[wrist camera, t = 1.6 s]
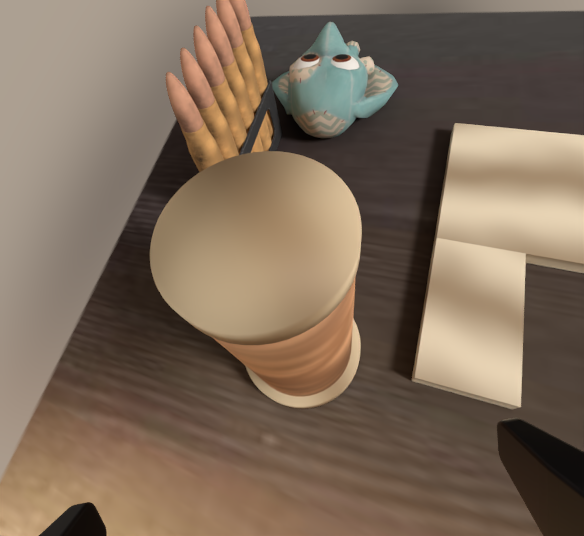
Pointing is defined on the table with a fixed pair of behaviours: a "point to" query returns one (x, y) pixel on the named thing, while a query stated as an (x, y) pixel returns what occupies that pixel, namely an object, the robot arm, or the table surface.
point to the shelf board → (496, 253)
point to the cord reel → (267, 270)
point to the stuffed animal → (332, 86)
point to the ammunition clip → (225, 90)
